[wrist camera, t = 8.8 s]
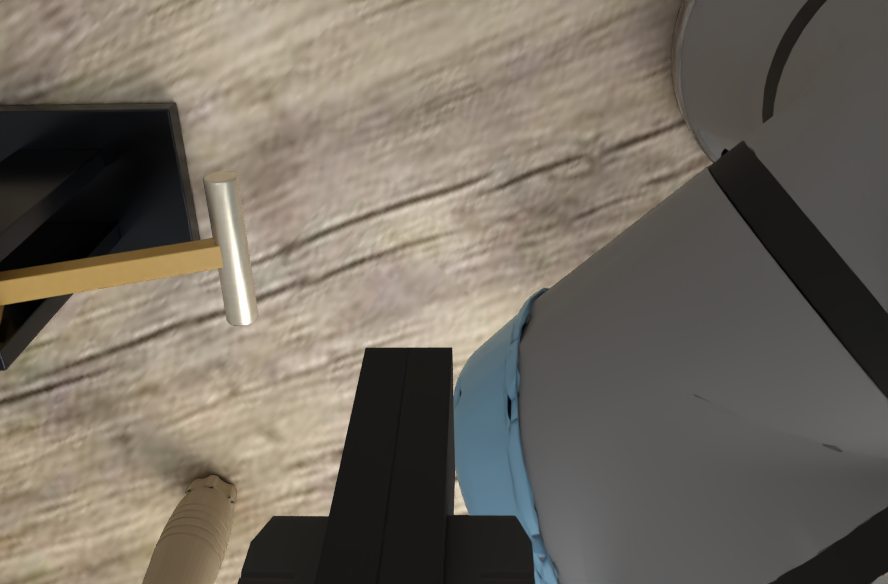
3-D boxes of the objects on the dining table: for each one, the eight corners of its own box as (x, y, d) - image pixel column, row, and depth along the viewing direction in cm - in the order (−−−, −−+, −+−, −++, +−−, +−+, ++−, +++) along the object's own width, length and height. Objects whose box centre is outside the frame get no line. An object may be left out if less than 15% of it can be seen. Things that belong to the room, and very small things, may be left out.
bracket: (176, 102, 43) (57, 208, 31) (204, 262, 47) (109, 411, 35) (-57, 105, 43) (-264, 212, 31) (-8, 263, 48) (-174, 411, 35)
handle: (226, 445, 53) (144, 647, 40) (268, 519, 56) (204, 731, 43) (158, 463, 54) (54, 666, 41) (202, 535, 57) (119, 747, 44)
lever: (233, 164, 37) (241, 183, 35) (254, 304, 41) (262, 328, 39) (-103, 210, 34) (-116, 233, 32) (-50, 360, 37) (-58, 389, 35)
